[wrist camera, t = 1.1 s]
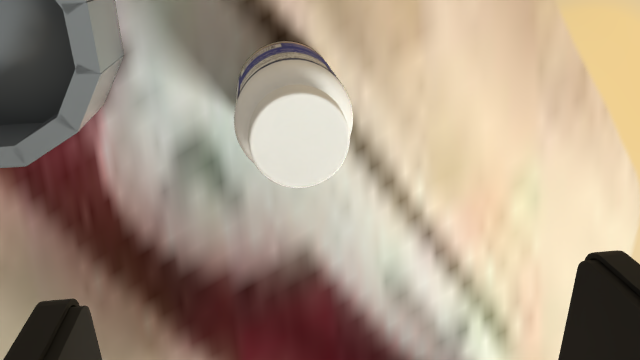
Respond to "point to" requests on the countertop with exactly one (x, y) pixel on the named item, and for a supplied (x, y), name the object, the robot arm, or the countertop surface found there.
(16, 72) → the grey faceted bowl
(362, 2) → the countertop surface
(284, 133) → the pill bottle
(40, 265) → the countertop surface
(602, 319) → the robot arm
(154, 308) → the countertop surface
